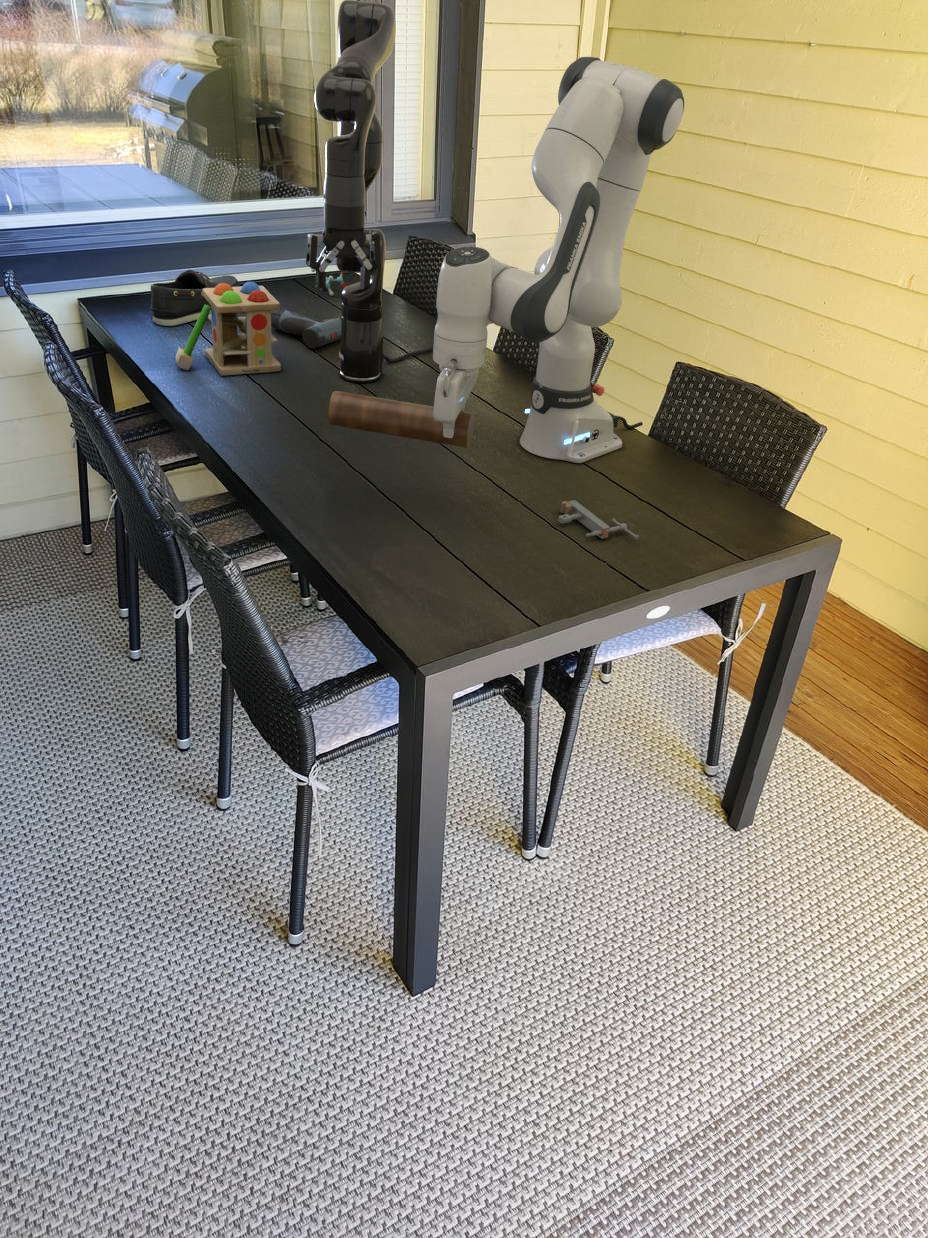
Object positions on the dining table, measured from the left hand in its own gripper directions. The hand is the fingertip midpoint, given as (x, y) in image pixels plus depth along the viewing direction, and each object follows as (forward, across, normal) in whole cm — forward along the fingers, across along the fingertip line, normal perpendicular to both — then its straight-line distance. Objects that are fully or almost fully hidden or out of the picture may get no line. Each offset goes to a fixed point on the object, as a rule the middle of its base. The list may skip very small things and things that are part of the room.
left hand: (343, 289), depth 189 cm
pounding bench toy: (+29, -13, +42) cm, 53 cm away
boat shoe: (+29, -9, +83) cm, 88 cm away
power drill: (+29, +14, +58) cm, 67 cm away
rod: (+16, -2, -33) cm, 36 cm away
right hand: (+13, +6, -39) cm, 41 cm away
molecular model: (+29, +32, +93) cm, 102 cm away
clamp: (+29, +28, -54) cm, 67 cm away
